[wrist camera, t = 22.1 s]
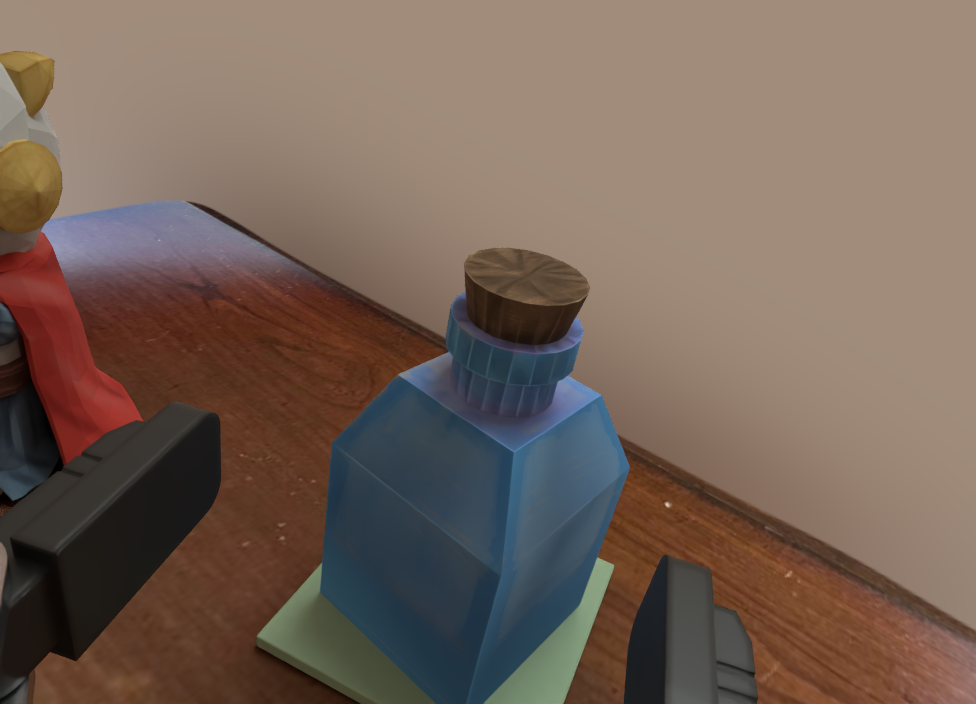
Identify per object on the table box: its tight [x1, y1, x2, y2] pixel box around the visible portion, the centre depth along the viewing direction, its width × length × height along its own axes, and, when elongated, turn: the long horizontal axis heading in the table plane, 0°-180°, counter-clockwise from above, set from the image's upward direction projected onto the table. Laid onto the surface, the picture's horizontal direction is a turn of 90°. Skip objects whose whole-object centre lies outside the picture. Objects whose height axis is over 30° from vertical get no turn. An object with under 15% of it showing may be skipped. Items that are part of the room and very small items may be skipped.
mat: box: [256, 558, 614, 704], centre depth 24 cm, size 9×9×1 cm
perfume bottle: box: [320, 248, 630, 704], centre depth 20 cm, size 6×6×12 cm
